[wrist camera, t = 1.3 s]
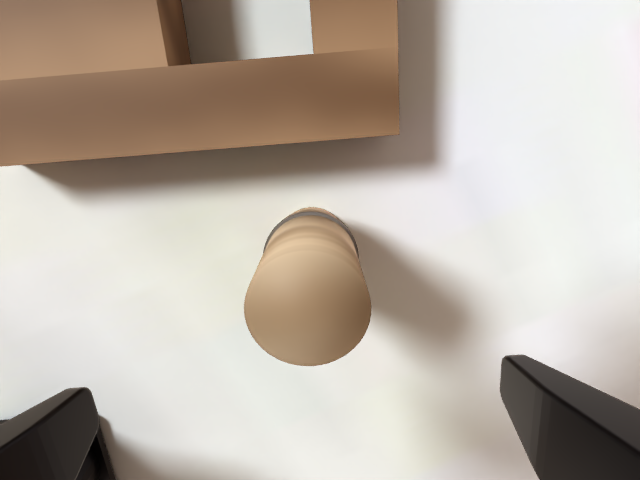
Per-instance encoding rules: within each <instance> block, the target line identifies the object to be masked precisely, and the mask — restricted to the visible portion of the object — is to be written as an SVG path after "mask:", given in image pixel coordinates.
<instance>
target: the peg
mask: <svg viewBox="0 0 640 480" xmlns="http://www.w3.org/2000/svg"><path fill="white" fill-rule="evenodd" d="M244 313H245V319H246V324H247V326H248V329H249V331H250V333H251V335H252V337H253V338H254V339H255V341H256V342H257V343H258V344H259V346H260V347H261V348H262V349H264V350H265V351H266V352H267V353H268V354H270V355H272V356H273V357H275V358H277V359H279V360H281V361H284V362H287V363H290V364H294V365H301V366H316V365H322V364H326V363H330V362H333V361H335V360H337V359H339V358H341V357H343V356H345V355H346V354H347V353H349V352H350V351H351V350H352V349H354V348H355V347H356V345H357V344H358V343H359V342H360V341H361V339H362V338H363V336H364V335H365V332H366V330H367V328H368V325H369V322H370V317H371V301H370V296H369V292H368V289H367V286H366V283H365V279H364V276H363V273H362V269H361V266H360V263H359V256H358V249H357V245H356V242H355V240H354V237H353V235H352V234H351V232H350V231H349V229H348V228H347V227H346V226H345V225H344V224H343V223H342V222H341V221H340V220H339V219H338V218H336V217H335V216H334V215H333V214H331V213H330V212H328V211H326V210H324V209H321V208H316V207H308V208H303V209H300V210H297V211H296V212H294V213H292V214H291V215H289V216H287V217H286V218H285V219H283V220H282V221H281V222H280V223H279V224H278V225H277V226H276V227H275V228H274V229H273V230H272V232H271V233H270V235H269V237H268V239H267V241H266V244H265V247H264V251H263V256H262V258H261V260H260V262H259V265H258V267H257V269H256V271H255V274H254V276H253V278H252V280H251V283H250V285H249V287H248V290H247V293H246V297H245V303H244Z"/></svg>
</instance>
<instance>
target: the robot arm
mask: <svg viewBox="0 0 640 480" xmlns="http://www.w3.org/2000/svg"><path fill="white" fill-rule="evenodd" d="M500 393H501V397H502V400H503V403H504V405H505V407H506V409H507V411H508V414H509V416H510V418H511V420H512V422H513V425H514V427H515V429H516V431H517V434H518V436H519V438H520V440H521V442H522V445H523V447H524V449H525V451H526V453H527V456H528V458H529V460H530V462H531V464H532V466H533V468H534V470H535V472H536V474H537V476H538V478H539V479H540V480H640V409H638V408H636V407H634V406H632V405H629V404H627V403H625V402H623V401H621V400H619V399H617V398H615V397H612V396H610V395H608V394H606V393H604V392H602V391H600V390H598V389H596V388H593V387H591V386H589V385H587V384H585V383H583V382H581V381H579V380H576V379H574V378H572V377H570V376H568V375H566V374H564V373H562V372H559V371H557V370H555V369H553V368H551V367H549V366H547V365H545V364H543V363H540V362H538V361H536V360H534V359H532V358H530V357H528V356H526V355H509V356H505V357H504V358H503V359H502V364H501V380H500ZM0 480H115V476H114V473H113V470H112V466H111V463H110V460H109V456H108V453H107V450H106V446H105V443H104V440H103V436H102V433H101V430H100V427H99V415H98V412H97V409H96V406H95V402H94V399H93V396H92V393H91V391H90V390H89V389H88V388H86V387H80V388H69V389H66V390H64V391H62V392H60V393H58V394H56V395H54V396H53V397H51V398H49V399H47V400H45V401H43V402H42V403H40V404H38V405H36V406H34V407H32V408H30V409H29V410H27V411H25V412H23V413H21V414H19V415H17V416H16V417H14V418H12V419H10V420H0Z"/></svg>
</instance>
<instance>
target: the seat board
mask: <svg viewBox="0 0 640 480" xmlns="http://www.w3.org/2000/svg"><path fill="white" fill-rule="evenodd" d="M310 11H311V25H312V38H313V52H314V54H308V55H296V56H284V57H272V58H261V59H249V60H237V61H225V62H213V63H201V64H191V60H190V54H189V48H188V41H187V35H186V29H185V23H184V16H183V10H182V4H181V0H0V166H12V165H25V164H37V163H50V162H62V161H75V160H87V159H100V158H112V157H125V156H137V155H150V154H162V153H175V152H187V151H200V150H212V149H225V148H237V147H250V146H262V145H275V144H287V143H300V142H312V141H325V140H337V139H350V138H362V137H375V136H387V135H399V72H398V9H397V0H310Z"/></svg>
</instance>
